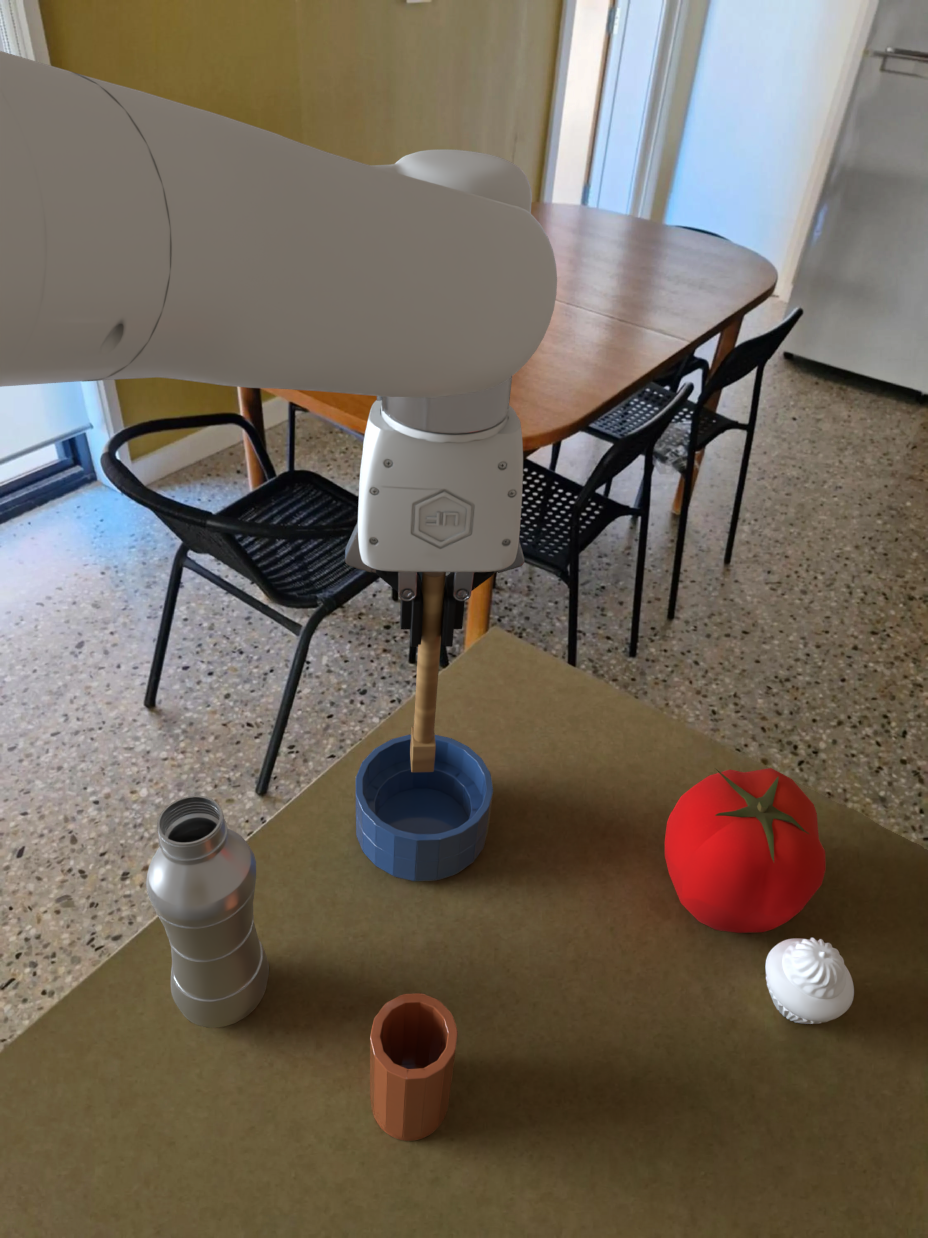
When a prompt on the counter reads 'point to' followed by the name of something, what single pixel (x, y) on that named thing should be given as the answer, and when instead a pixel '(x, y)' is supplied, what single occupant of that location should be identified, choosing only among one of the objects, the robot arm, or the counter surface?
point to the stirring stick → (427, 673)
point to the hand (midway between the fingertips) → (430, 632)
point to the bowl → (423, 809)
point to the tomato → (744, 850)
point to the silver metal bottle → (207, 913)
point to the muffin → (808, 981)
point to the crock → (411, 1065)
